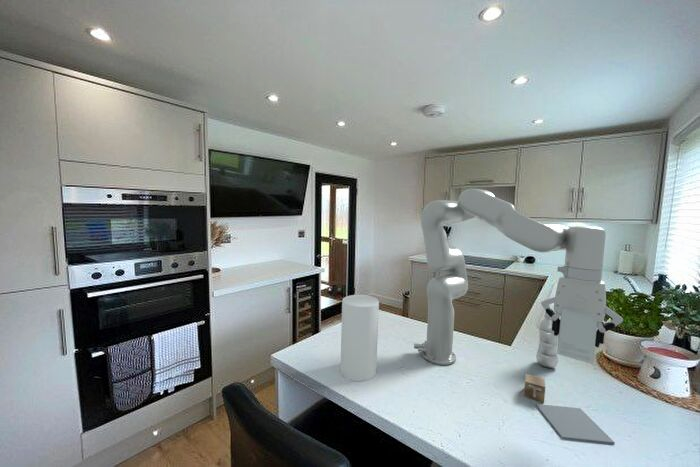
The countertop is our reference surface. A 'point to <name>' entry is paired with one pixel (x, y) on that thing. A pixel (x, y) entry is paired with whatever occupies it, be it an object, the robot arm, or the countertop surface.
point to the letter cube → (534, 388)
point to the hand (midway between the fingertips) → (576, 339)
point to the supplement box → (577, 335)
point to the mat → (574, 424)
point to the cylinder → (359, 337)
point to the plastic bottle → (547, 344)
